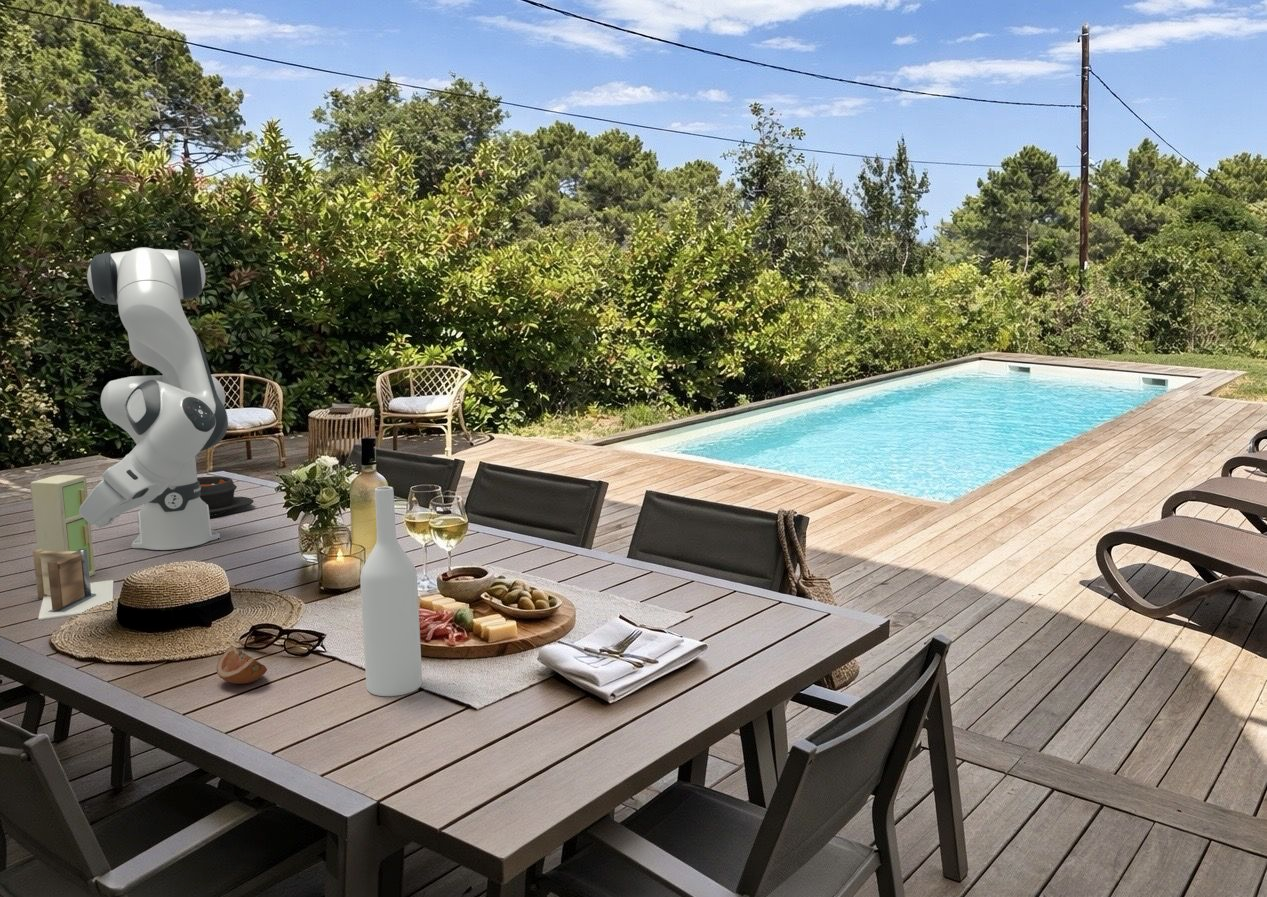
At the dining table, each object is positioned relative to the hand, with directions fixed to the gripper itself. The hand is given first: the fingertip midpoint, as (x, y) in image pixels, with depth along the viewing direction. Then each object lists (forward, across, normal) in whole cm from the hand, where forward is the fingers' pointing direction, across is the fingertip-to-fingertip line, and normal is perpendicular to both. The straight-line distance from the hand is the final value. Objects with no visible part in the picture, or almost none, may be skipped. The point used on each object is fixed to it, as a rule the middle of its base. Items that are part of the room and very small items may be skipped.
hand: (101, 523), depth 191 cm
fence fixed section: (+20, -5, +3) cm, 21 cm away
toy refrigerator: (+26, -17, -2) cm, 31 cm away
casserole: (+29, -78, -4) cm, 84 cm away
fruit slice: (-19, +34, +41) cm, 56 cm away
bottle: (-36, +33, +57) cm, 75 cm away
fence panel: (+17, 0, +5) cm, 17 cm away
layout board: (+18, -4, +5) cm, 19 cm away
